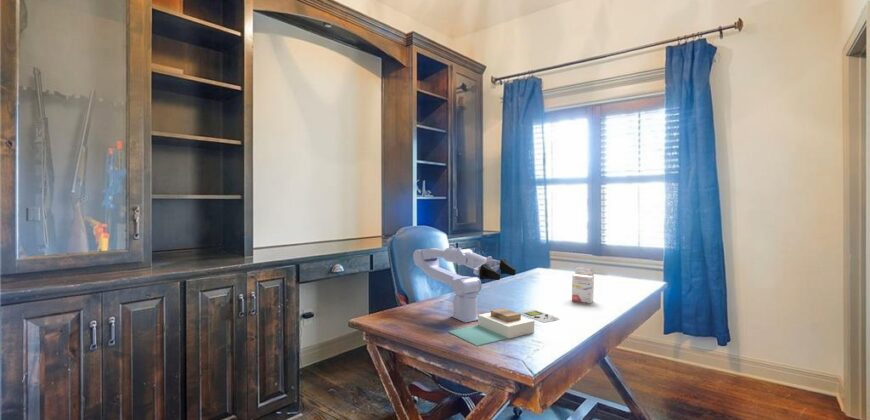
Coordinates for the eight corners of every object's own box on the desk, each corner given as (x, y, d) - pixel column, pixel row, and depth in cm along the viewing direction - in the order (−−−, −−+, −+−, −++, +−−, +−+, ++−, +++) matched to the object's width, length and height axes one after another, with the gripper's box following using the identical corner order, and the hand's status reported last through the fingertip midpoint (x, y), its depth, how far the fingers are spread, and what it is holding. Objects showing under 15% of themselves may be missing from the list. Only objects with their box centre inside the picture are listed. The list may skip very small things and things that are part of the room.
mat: (448, 332, 143) (448, 331, 142) (478, 325, 149) (478, 324, 149) (477, 346, 129) (477, 345, 129) (508, 338, 136) (508, 337, 136)
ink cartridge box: (571, 300, 185) (571, 268, 185) (574, 298, 190) (574, 266, 189) (591, 303, 181) (591, 270, 180) (593, 301, 185) (594, 268, 184)
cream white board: (478, 325, 149) (478, 314, 149) (503, 320, 156) (503, 309, 156) (508, 338, 136) (508, 326, 136) (534, 332, 142) (534, 320, 142)
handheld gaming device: (543, 321, 153) (517, 311, 166) (543, 323, 153) (517, 313, 166) (561, 318, 157) (534, 309, 171) (561, 320, 157) (534, 310, 171)
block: (490, 315, 148) (490, 310, 148) (503, 313, 151) (503, 308, 151) (507, 322, 140) (507, 316, 140) (520, 319, 144) (520, 313, 144)
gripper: (465, 256, 147) (492, 267, 136) (494, 249, 155) (522, 259, 145) (464, 275, 148) (491, 287, 138) (493, 267, 157) (520, 278, 146)
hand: (507, 274), depth 141 cm, fingers open, 7 cm apart
